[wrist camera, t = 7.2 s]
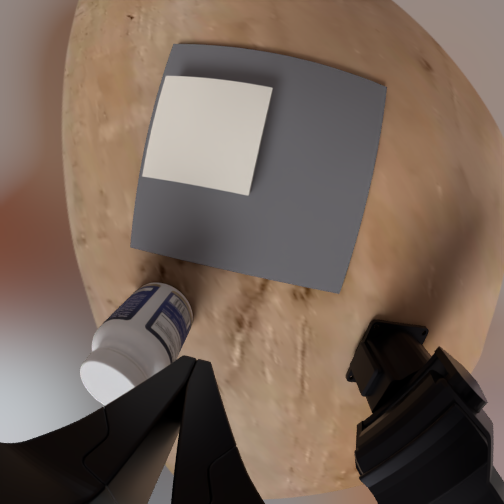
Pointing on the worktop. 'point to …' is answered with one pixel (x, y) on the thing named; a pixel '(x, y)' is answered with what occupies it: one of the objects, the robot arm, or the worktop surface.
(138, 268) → the worktop surface
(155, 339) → the pill bottle
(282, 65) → the mat
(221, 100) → the tile
